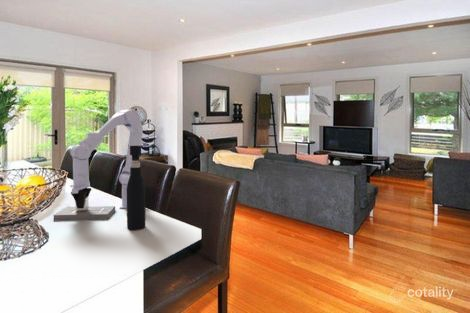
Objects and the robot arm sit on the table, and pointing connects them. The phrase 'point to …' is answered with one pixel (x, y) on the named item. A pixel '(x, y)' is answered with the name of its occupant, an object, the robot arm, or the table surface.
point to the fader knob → (86, 205)
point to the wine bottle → (135, 193)
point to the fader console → (85, 213)
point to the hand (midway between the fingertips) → (82, 207)
